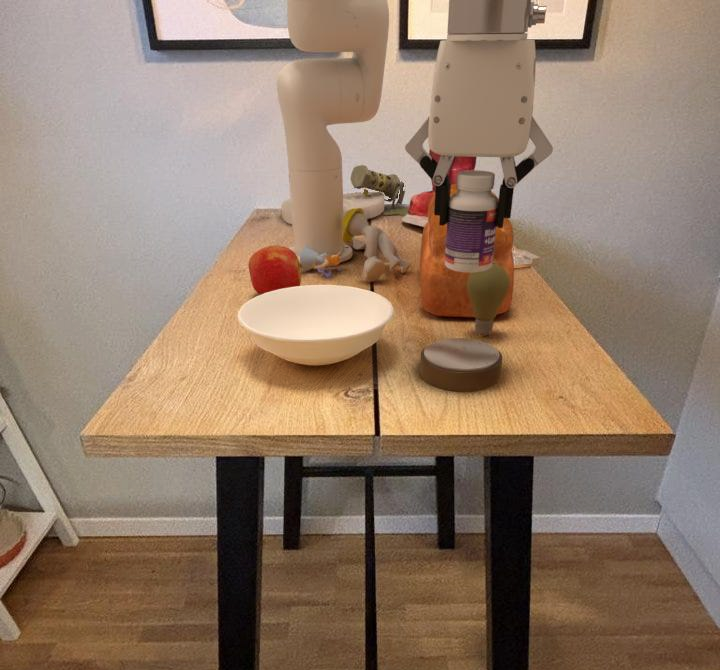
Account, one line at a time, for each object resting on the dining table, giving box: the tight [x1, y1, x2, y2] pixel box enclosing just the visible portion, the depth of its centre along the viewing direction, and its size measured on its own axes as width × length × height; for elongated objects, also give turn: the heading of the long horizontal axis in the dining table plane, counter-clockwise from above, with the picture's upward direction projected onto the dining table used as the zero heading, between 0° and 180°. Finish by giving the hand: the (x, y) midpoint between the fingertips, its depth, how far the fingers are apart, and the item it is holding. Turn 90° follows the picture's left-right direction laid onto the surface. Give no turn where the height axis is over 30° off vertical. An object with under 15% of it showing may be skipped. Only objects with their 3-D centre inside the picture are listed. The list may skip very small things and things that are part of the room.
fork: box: [351, 237, 367, 251], centre depth 131 cm, size 3×21×3 cm, turn 24°
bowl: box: [237, 284, 395, 366], centre depth 85 cm, size 20×20×6 cm
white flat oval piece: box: [280, 192, 385, 225], centre depth 152 cm, size 22×28×3 cm
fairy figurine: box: [298, 246, 343, 279], centre depth 116 cm, size 12×5×12 cm
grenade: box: [350, 164, 406, 209], centre depth 153 cm, size 7×7×15 cm
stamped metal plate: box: [512, 247, 541, 269], centre depth 120 cm, size 8×7×2 cm
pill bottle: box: [445, 169, 498, 272], centre depth 72 cm, size 5×5×10 cm
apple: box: [247, 245, 302, 295], centre depth 103 cm, size 8×8×8 cm
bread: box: [419, 184, 515, 318], centre depth 102 cm, size 14×26×16 cm, turn 176°
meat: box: [401, 149, 478, 228], centre depth 140 cm, size 23×24×25 cm
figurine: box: [342, 208, 412, 283], centre depth 115 cm, size 10×9×15 cm
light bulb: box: [467, 263, 509, 337], centre depth 89 cm, size 6×6×10 cm
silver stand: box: [419, 337, 504, 392], centre depth 81 cm, size 10×10×3 cm
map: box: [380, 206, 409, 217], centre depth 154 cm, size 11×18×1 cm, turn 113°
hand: (471, 222), depth 72 cm, fingers closed on pill bottle, 5 cm apart
